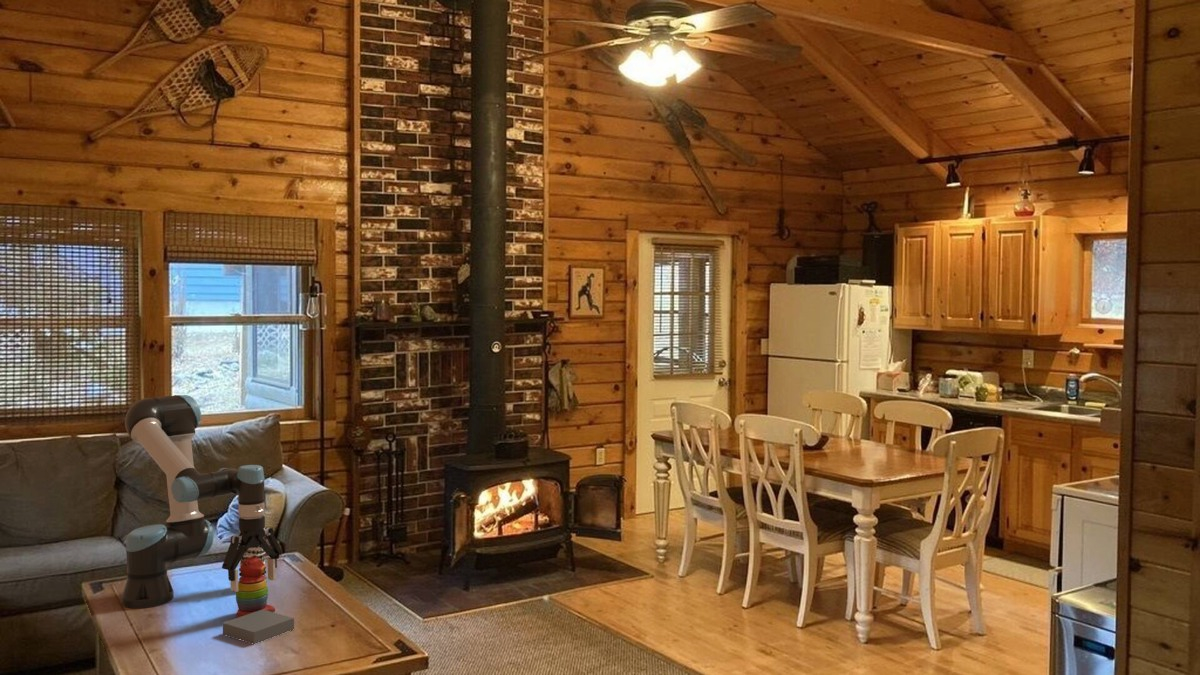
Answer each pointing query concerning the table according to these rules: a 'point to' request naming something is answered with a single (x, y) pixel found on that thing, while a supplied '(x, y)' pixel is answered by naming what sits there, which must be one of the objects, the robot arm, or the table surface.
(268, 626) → the gray block
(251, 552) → the decorative candle
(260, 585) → the stacking bear
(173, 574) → the table surface
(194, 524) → the robot arm
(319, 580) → the table surface
